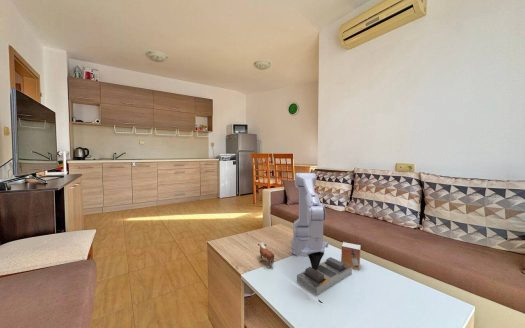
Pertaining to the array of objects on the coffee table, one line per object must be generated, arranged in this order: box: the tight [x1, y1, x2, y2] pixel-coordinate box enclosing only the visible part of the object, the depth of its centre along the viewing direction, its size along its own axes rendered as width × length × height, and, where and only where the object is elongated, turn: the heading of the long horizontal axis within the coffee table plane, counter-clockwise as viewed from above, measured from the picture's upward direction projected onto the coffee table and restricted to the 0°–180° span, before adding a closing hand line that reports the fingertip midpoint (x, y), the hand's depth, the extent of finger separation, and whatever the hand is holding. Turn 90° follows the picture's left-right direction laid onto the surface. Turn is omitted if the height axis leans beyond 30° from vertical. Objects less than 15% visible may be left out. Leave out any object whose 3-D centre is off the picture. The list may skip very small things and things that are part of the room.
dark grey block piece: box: [304, 266, 324, 284], centre depth 85 cm, size 7×3×5 cm, turn 37°
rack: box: [296, 257, 353, 297], centre depth 89 cm, size 10×24×4 cm, turn 127°
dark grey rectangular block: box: [325, 257, 344, 272], centre depth 93 cm, size 7×3×5 cm, turn 37°
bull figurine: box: [257, 242, 275, 269], centre depth 102 cm, size 4×13×8 cm, turn 25°
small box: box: [340, 241, 362, 271], centre depth 99 cm, size 8×6×10 cm
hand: (314, 268), depth 84 cm, fingers closed
